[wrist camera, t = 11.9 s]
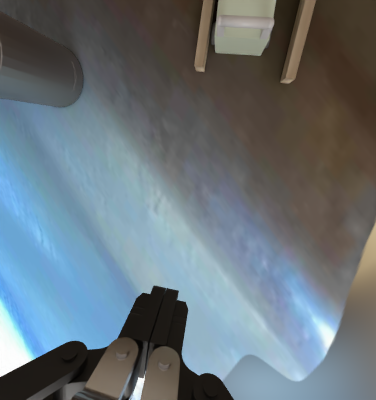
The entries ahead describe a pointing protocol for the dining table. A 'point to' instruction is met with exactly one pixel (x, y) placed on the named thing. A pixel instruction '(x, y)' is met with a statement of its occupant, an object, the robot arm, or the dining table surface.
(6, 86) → the robot arm
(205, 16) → the birch bay
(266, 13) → the sage trolley
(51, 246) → the dining table surface
